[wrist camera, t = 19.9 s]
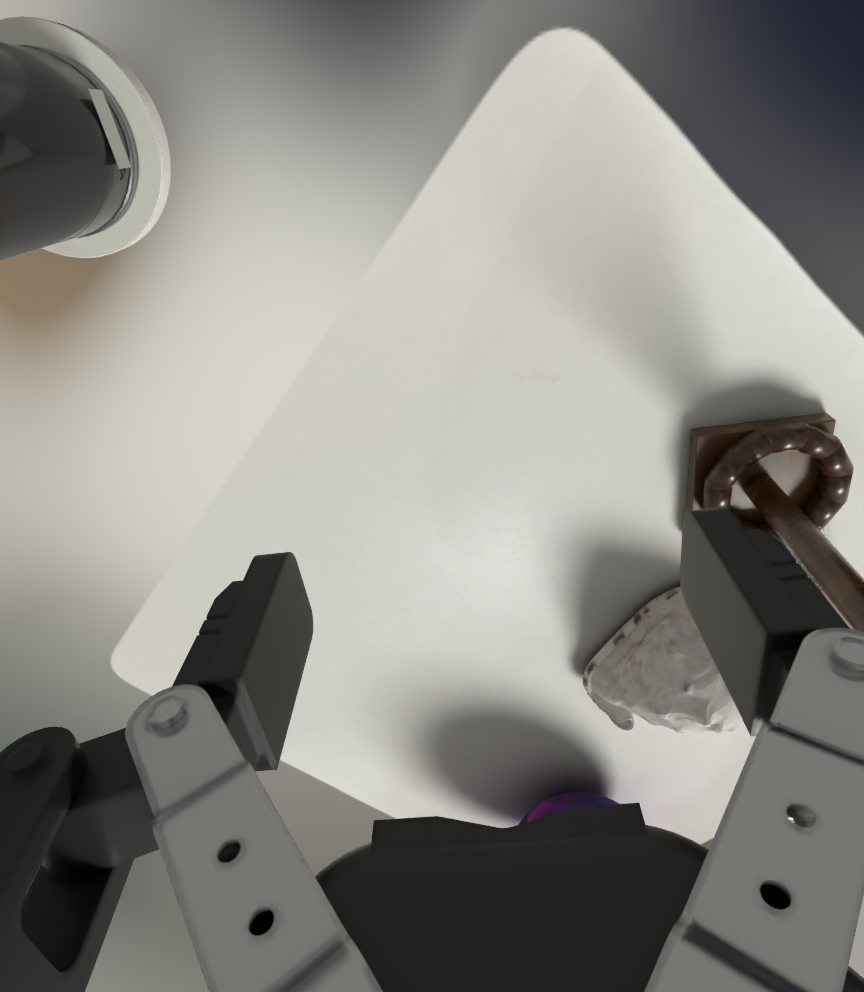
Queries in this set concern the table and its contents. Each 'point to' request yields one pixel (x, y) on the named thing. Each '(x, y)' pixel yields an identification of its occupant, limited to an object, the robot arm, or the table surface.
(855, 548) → the table surface
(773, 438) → the ring
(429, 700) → the table surface
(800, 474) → the stand
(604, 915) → the robot arm
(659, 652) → the seashell
